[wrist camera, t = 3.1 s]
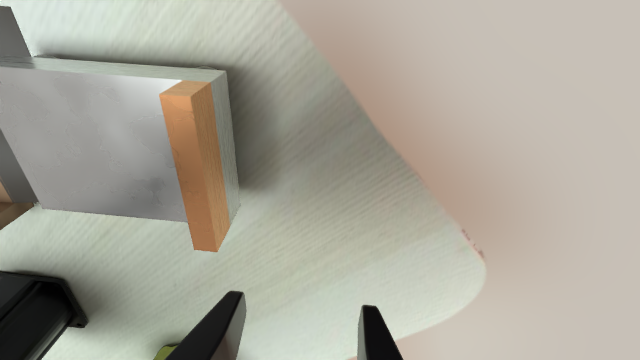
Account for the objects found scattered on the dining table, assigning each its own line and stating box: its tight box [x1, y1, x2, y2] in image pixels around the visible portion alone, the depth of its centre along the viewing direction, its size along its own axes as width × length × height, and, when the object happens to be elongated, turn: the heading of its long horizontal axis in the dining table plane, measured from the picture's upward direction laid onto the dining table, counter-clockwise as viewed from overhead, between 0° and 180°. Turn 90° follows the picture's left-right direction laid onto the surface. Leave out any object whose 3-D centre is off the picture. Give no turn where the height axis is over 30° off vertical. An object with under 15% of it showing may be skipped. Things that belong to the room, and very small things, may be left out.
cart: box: [0, 55, 241, 252], centre depth 17 cm, size 8×11×6 cm
